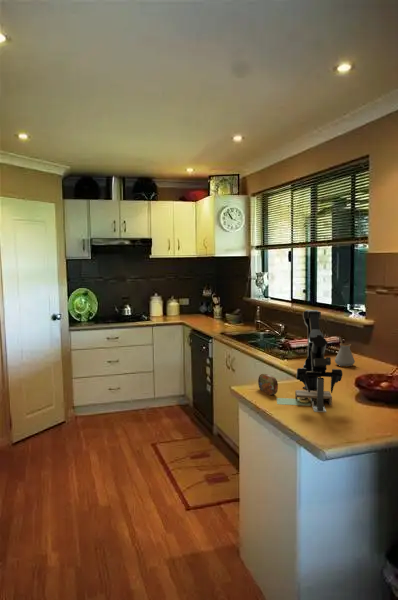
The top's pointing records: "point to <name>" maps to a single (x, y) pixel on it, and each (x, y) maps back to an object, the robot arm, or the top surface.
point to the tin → (268, 384)
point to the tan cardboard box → (313, 395)
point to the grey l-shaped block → (319, 397)
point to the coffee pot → (344, 355)
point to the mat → (290, 401)
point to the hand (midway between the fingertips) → (320, 392)
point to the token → (304, 400)
